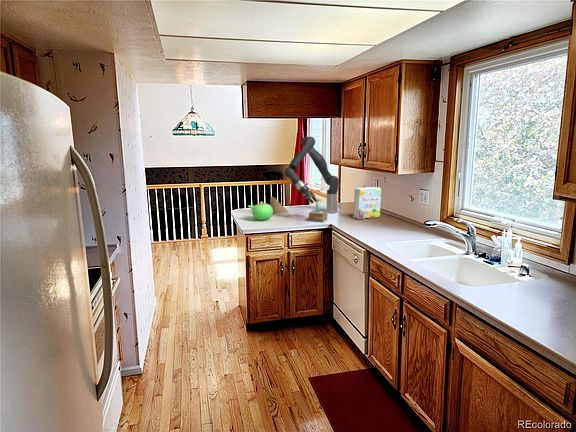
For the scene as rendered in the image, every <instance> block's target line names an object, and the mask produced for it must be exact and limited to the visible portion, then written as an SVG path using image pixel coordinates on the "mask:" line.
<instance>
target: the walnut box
mask: <svg viewBox="0 0 576 432" xmlns="http://www.w3.org/2000/svg"><path fill="white" fill-rule="evenodd" d="M314 211H316V209H314V210H312V211H309V212H308V222H315V223H324V222H325V221H327V220H328V214H329V213H328V211H326V210H323V211H324V212H323V213H312V212H314Z"/></svg>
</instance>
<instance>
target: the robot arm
mask: <svg viewBox="0 0 576 432" xmlns="http://www.w3.org/2000/svg"><path fill="white" fill-rule="evenodd" d="M300 142H301V146H302V148H301V149H300V150H299V152H297V153H296V154H294V155H295V156H294V157H293V158H292V160H291V161H290V163H289V165H288V167H286V168H285V169H284V176H285V177H286V178H287V179H290V182H291V183H292V185H293V186H295V188H296V189H297V191H298V192H299V193H300V194H301V195H302V196H303V197H304V198H305V200H307V201H308V202H309V203H310V204H313V203H314V202H315V203H316V199H317V197H316V195H315V194H314V193H313V192H312V190H310V189H309V186H307V184H306V183H305V182H304V181H303V180H302V179H301V178H300V177H299V176H298V174H297V173H296V171H297V168H298V167H299V165H300V164H301V163H302V161H303V159H304V158H305V157H306V156H307V154H308V155H309V158H310V159H311V160H312V162H313V164H314V165H315V166H316V168H317V170H318V171H319V173H320V175H321V177H322V178H323V180H324V183H325V184H326V185H327V186H329V188H328V189H327V190H326V208H325V209H326V210H325V211H328V214H337V213H338V209H339V207H338V206H339V205H338V204H339V202H338V191H339V182H340V181H339V178H338V176H336V175H332V174H331V173H330V171H329V170H328V164H327V161H326V159H325V157H324V156H323V155H322V154H321V153H320V152H319V151H317V149H315V147H314V146H315V145H316V139H315V137H313V136H304V137H302V138H301V141H300Z"/></svg>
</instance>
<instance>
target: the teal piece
mask: <svg viewBox="0 0 576 432" xmlns="http://www.w3.org/2000/svg"><path fill="white" fill-rule="evenodd" d="M321 202H322V199H321V198H316V202H315V210H316V211H314V212H312V213H323V212H324V211H325V210H321V205H322V204H321Z"/></svg>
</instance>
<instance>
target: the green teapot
mask: <svg viewBox="0 0 576 432" xmlns="http://www.w3.org/2000/svg"><path fill="white" fill-rule="evenodd" d="M247 207H248V208H249V209H251V214H252V217H253V218H254V219H256V220H258V221H265V220H268V219H270V218H271V217H272V216H273V209H272V207H271V204H268V203H266V202H263V201H260V202H259V203H257V204H255V205H247Z"/></svg>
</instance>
